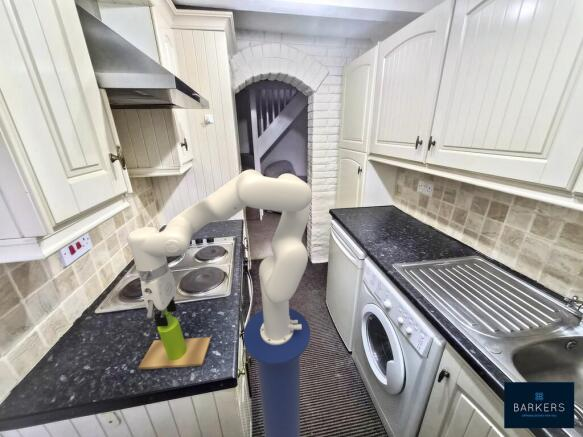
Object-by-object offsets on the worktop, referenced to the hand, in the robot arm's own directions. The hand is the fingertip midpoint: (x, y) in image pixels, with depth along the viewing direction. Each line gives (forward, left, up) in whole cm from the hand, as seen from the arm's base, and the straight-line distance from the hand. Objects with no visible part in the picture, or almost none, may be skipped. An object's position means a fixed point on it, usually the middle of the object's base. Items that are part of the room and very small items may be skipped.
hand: (167, 317), depth 72 cm
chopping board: (0, 0, -16) cm, 16 cm away
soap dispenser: (0, 0, -15) cm, 15 cm away
